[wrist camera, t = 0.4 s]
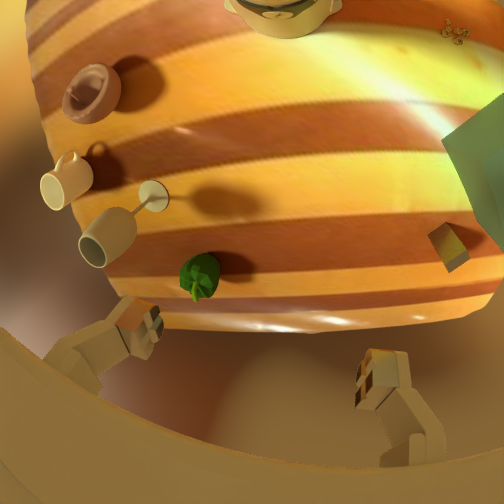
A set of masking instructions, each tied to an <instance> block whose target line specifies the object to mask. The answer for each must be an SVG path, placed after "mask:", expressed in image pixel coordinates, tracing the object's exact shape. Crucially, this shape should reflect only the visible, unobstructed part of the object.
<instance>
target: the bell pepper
mask: <svg viewBox="0 0 504 504" xmlns="http://www.w3.org/2000/svg"><path fill="white" fill-rule="evenodd" d="M219 276H220V265H219V262H218V261H217V259H216V258H215V257H214V256H212V255H210V254H202V255H197V256H194V257H192V258H191V259H190V260H188V261H187V262H186V263H185V264H184V265H183V267H182V268H181V270H180V287H182V288H183V289H184V290H187V291H189V292H190V294H191V295H192V298H193V300H194V301H195V302H198V301H199V300H198V298H209V297H211V296H212V295H213V294H214V292H215V291H216V289H217V286H218V283H219Z"/></svg>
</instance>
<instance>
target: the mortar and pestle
mask: <svg viewBox="0 0 504 504" xmlns="http://www.w3.org/2000/svg"><path fill="white" fill-rule="evenodd" d="M121 89H122V87H121V80H120V78H119V76H118V74H117V72H116V71H115V70H114V69H113V68H111V67H110V66H108V65H106V64H102V63H93V64H90V65H87V66H86V67H84V68H83V69H82V70H80V71H79V72H78V73H77V74H76V76H75V77H74V78H73V80H72V81H71V83H70V84H69V86H68V88H67V90H66V92H65V95H64V99H63V104H62V107H63V112H64V114H65V116H66V117H68V118H69V119H70V120H72V121H73V122H76V123H79V124H92V123H96V122H98V121H100V120H102V119H104V118H105V117H107V116H108V115H109V114H110V113H111V112H112V111H113V110H114V109H115V107H116V106H117V104H118V102H119V99H120V96H121Z"/></svg>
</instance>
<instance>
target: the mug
mask: <svg viewBox="0 0 504 504" xmlns="http://www.w3.org/2000/svg"><path fill="white" fill-rule="evenodd" d="M69 152H73V153H74V159H73V160H71V161H69V162H67V163H65V164H63V161H64V158H65V156H66V155H67V154H68V153H69ZM92 183H93V171H92V168H91V166H90V165H89V163H88V162H87V161H86V160H84V159H82V158H81V157H80V154H79V152H78V151H77V150H70V151H67V152H66V153H64V154H63V155H62V156H61V158H60V159H59V161H58V162H57V164H56V167H55V169H54V170H52V171H50V172H48V173H46V174H45V175H44V176H43V177H42V179H41V182H40V189H41V194H42V197H43V199H44V201H45V202H46V204H47V205H48V206H49V207H50V208H52V209H53V210H60V209H62V208H63V207H64V206H66V205H67V204H68V203H70V202H71V201H73V200H74V199H76V198H77V197H79V196H80V195H81V194H83V193H84V192H86V191H87V190H88V189H89V188H90V187H91V186H92Z"/></svg>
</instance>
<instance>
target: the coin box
mask: <svg viewBox="0 0 504 504" xmlns="http://www.w3.org/2000/svg"><path fill="white" fill-rule="evenodd" d="M441 141H442V143H443V145H444V147H445V149H446V150H447V152H448V154H449V156H450V158H451V160H452V162H453V164H454V166H455V168H456V171H457V173H458V175H459V177H460V179H461V182H462V184H463V186H464V188H465V191H466V193H467V196H468V198H469V201H470V203H471V206H472V208H473V211H474V214H475V217H476V219H477V222H478V223H479V224H480V225H481V226H482V227H483V228H484V230H485V231H486V232H487V233H488V234H489V235H490V236H491V238H492V239H493V240H494V241H495V242H496V244H497V245H498V246H499V247H500V249H501V250H502V251H503V252H504V93H502V94H501V95H500V96H499V97H497V98H496V99H495V100H493V101H492V102H491V103H490V104H488V105H487V106H486V107H484V108H483V109H482V110H481V111H479V112H478V113H477V114H475V115H474V116H473V117H471V118H470V119H469V120H467V121H466V122H465V123H464V124H462V125H461V126H460V127H458V128H457V129H456V130H454V131H453V132H452V133H450V134H449V135H448V136H446V137H445V138H444V139H442V140H441Z"/></svg>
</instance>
